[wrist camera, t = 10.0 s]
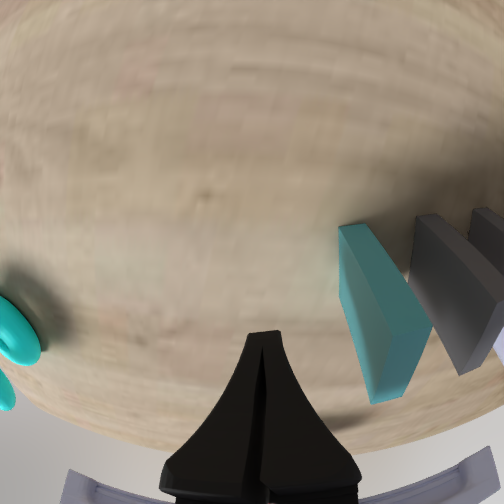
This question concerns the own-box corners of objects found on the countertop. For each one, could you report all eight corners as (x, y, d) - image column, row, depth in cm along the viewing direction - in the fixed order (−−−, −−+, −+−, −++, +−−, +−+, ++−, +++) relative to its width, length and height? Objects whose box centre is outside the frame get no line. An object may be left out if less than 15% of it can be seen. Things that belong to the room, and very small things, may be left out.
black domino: (436, 213, 14) (518, 294, 7) (426, 279, 16) (480, 366, 9) (416, 216, 14) (497, 303, 7) (407, 283, 16) (458, 375, 10)
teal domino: (365, 223, 14) (432, 325, 7) (362, 292, 17) (402, 396, 10) (338, 226, 15) (392, 336, 8) (339, 296, 17) (370, 404, 10)
